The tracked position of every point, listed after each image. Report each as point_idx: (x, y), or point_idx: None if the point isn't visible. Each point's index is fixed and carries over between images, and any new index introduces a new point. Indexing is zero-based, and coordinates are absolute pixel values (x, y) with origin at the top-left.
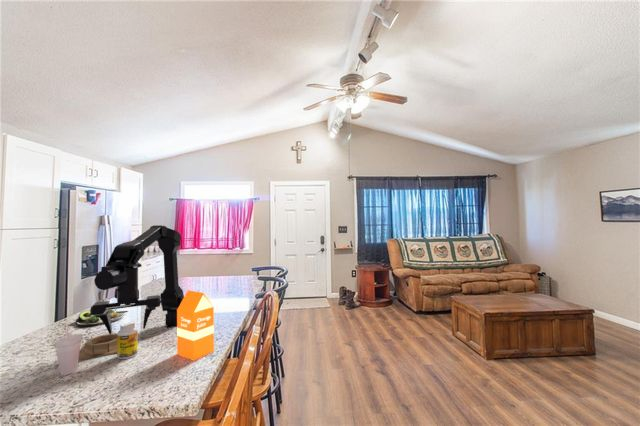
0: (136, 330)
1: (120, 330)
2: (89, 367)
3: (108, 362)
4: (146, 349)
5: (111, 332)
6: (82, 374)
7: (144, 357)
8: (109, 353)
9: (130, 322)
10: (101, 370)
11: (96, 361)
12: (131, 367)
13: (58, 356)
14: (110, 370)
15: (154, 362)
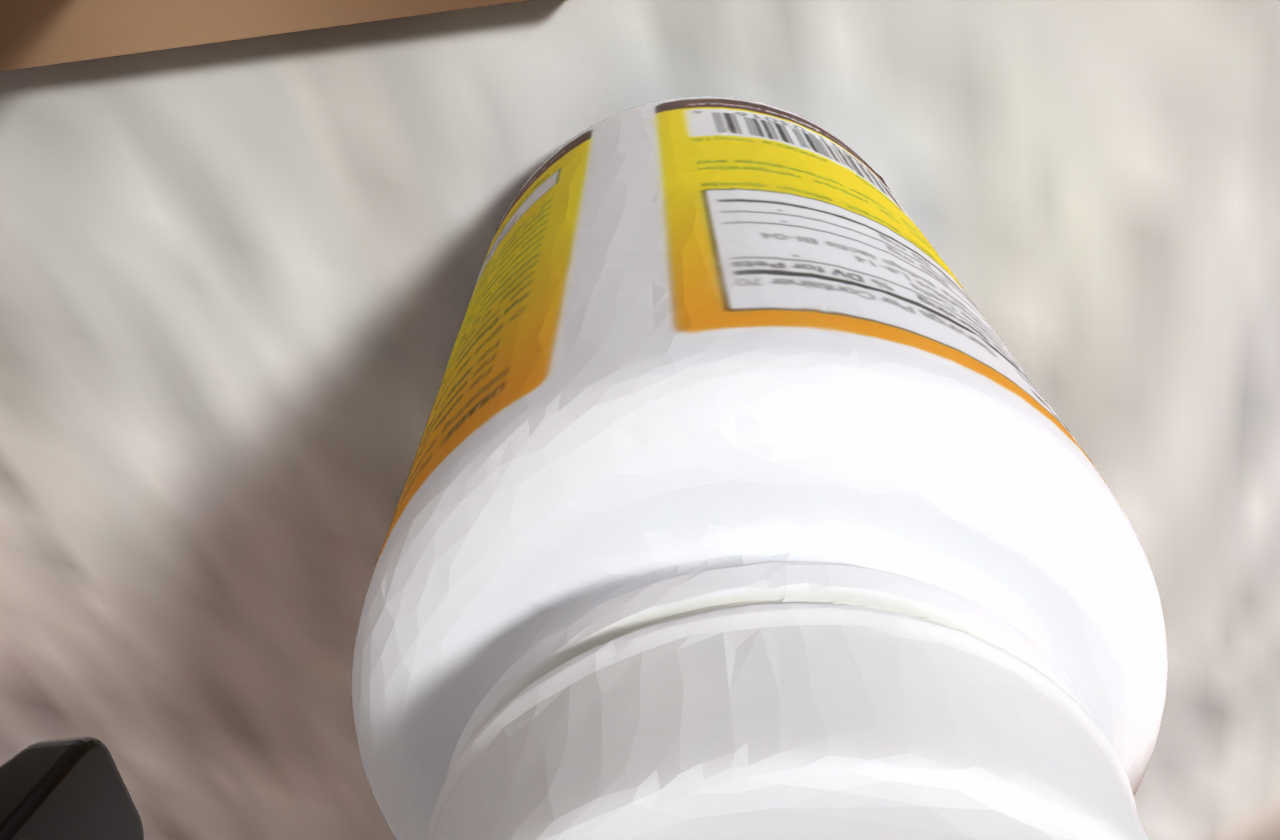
0: (1136, 788)
1: (423, 709)
2: (116, 590)
3: (391, 494)
4: (1111, 21)
5: (102, 815)
6: (161, 797)
7: None
8: (185, 44)
9: (924, 830)
10: None
11: (88, 354)
12: None
13: None
14: None
15: (1246, 769)
